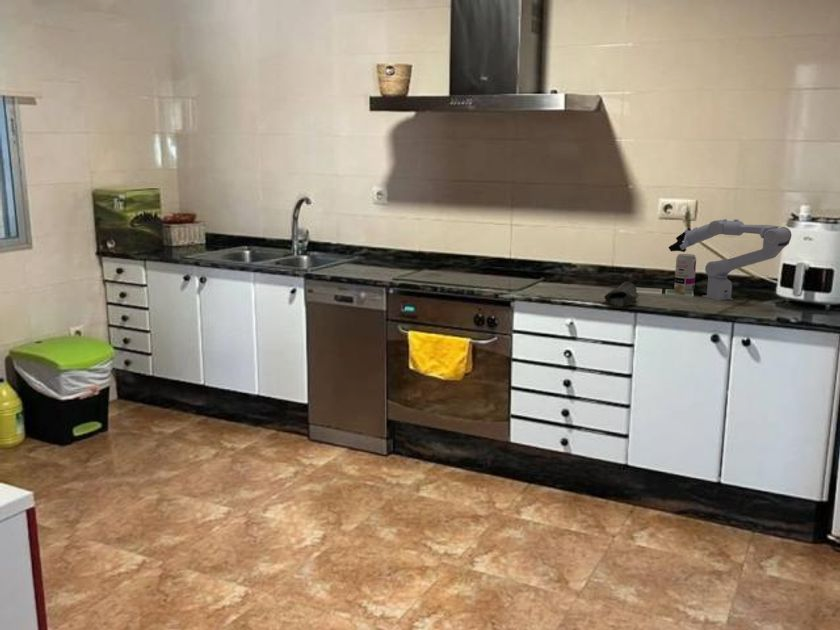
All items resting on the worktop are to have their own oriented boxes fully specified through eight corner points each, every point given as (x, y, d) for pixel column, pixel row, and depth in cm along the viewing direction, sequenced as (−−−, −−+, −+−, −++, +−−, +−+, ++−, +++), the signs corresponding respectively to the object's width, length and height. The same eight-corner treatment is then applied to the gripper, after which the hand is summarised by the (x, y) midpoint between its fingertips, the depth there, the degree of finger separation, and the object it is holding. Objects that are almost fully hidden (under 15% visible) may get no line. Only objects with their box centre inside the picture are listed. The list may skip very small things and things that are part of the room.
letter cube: (684, 294, 342) (684, 284, 341) (684, 296, 338) (685, 286, 338) (674, 294, 343) (674, 284, 342) (674, 295, 340) (674, 286, 339)
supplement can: (693, 288, 359) (696, 254, 356) (694, 291, 351) (697, 256, 348) (674, 287, 361) (676, 253, 358) (674, 290, 353) (676, 256, 350)
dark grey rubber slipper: (633, 308, 319) (647, 295, 340) (633, 290, 317) (646, 278, 339) (600, 308, 325) (615, 295, 346) (599, 290, 323) (614, 278, 345)
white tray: (661, 293, 348) (662, 288, 348) (661, 298, 338) (661, 293, 337) (634, 291, 351) (635, 287, 351) (633, 296, 341) (633, 292, 341)
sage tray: (692, 294, 345) (693, 290, 344) (693, 300, 334) (693, 295, 334) (665, 293, 348) (665, 289, 347) (665, 298, 337) (665, 294, 337)
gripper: (701, 217, 343) (675, 228, 354) (688, 235, 335) (661, 245, 346) (710, 231, 344) (684, 241, 355) (697, 249, 336) (670, 259, 347)
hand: (673, 244), depth 351 cm, fingers open, 7 cm apart
